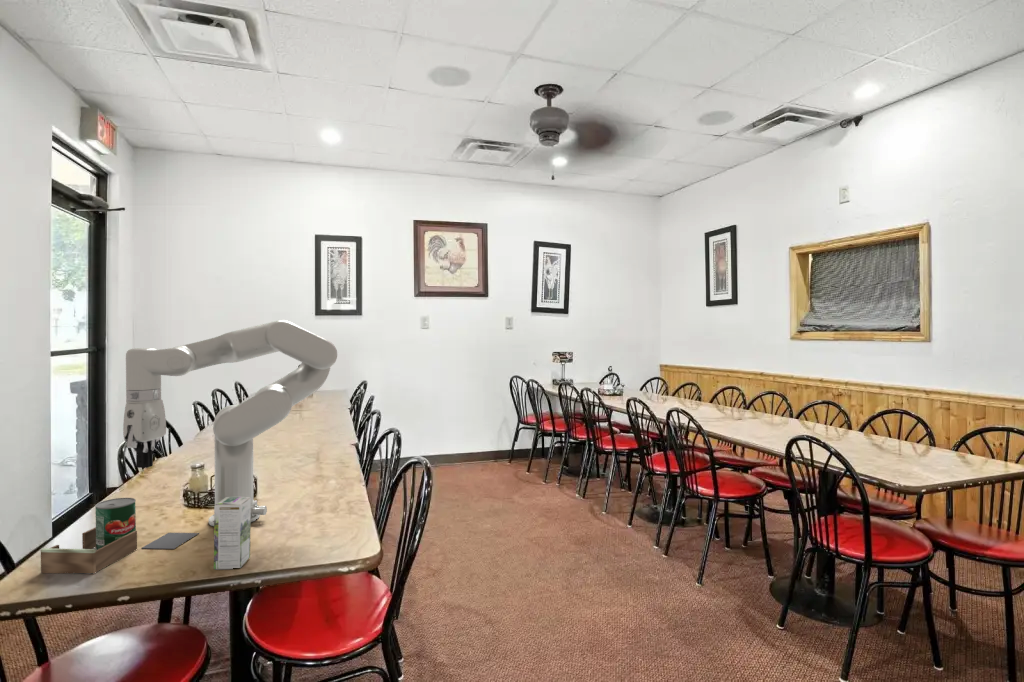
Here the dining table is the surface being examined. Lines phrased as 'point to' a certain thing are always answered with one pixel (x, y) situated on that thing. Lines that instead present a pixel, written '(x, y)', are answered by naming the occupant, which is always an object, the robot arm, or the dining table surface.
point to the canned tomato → (114, 520)
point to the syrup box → (232, 532)
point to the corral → (86, 554)
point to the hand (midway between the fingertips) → (144, 466)
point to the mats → (170, 541)
